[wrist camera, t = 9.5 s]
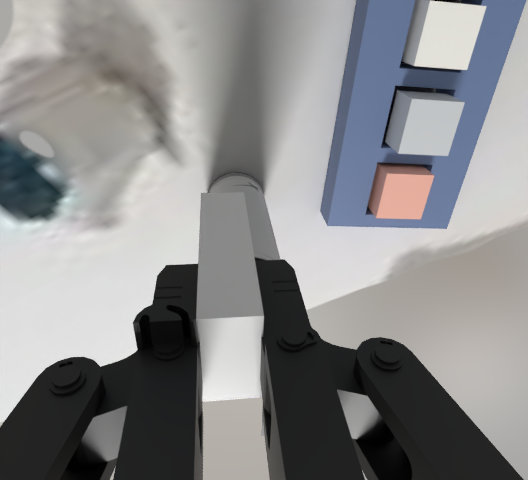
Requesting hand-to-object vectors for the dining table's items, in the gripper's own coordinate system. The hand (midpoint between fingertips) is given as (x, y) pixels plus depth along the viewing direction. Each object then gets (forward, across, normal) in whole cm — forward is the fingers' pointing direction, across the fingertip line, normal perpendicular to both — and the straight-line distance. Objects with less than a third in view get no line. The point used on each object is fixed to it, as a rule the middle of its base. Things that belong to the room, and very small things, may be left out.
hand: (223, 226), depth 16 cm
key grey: (+27, +19, -3) cm, 33 cm away
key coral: (+28, +19, -11) cm, 35 cm away
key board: (+30, +19, -3) cm, 36 cm away
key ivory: (+28, +20, +4) cm, 35 cm away
